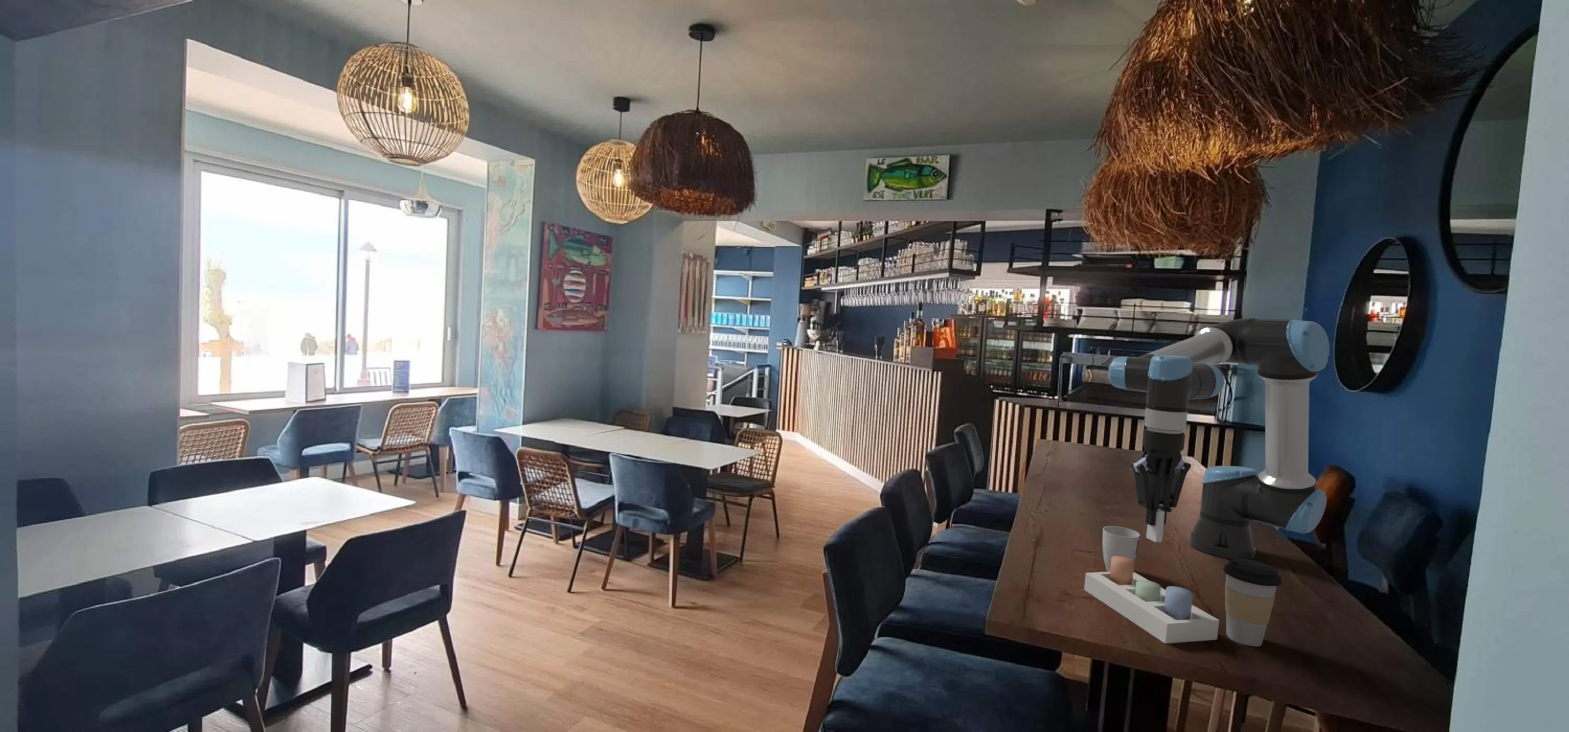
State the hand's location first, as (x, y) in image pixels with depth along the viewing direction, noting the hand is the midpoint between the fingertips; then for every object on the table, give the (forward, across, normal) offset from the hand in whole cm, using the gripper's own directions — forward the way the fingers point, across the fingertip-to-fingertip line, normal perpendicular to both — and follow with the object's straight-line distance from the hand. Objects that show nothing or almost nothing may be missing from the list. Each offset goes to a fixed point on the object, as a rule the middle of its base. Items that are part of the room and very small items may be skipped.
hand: (1154, 539), depth 139 cm
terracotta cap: (+13, 0, -8) cm, 15 cm away
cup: (+17, -10, -21) cm, 28 cm away
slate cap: (+13, 0, +8) cm, 15 cm away
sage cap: (+15, 0, 0) cm, 15 cm away
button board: (+16, 0, 0) cm, 16 cm away
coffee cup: (+16, -11, +13) cm, 24 cm away
